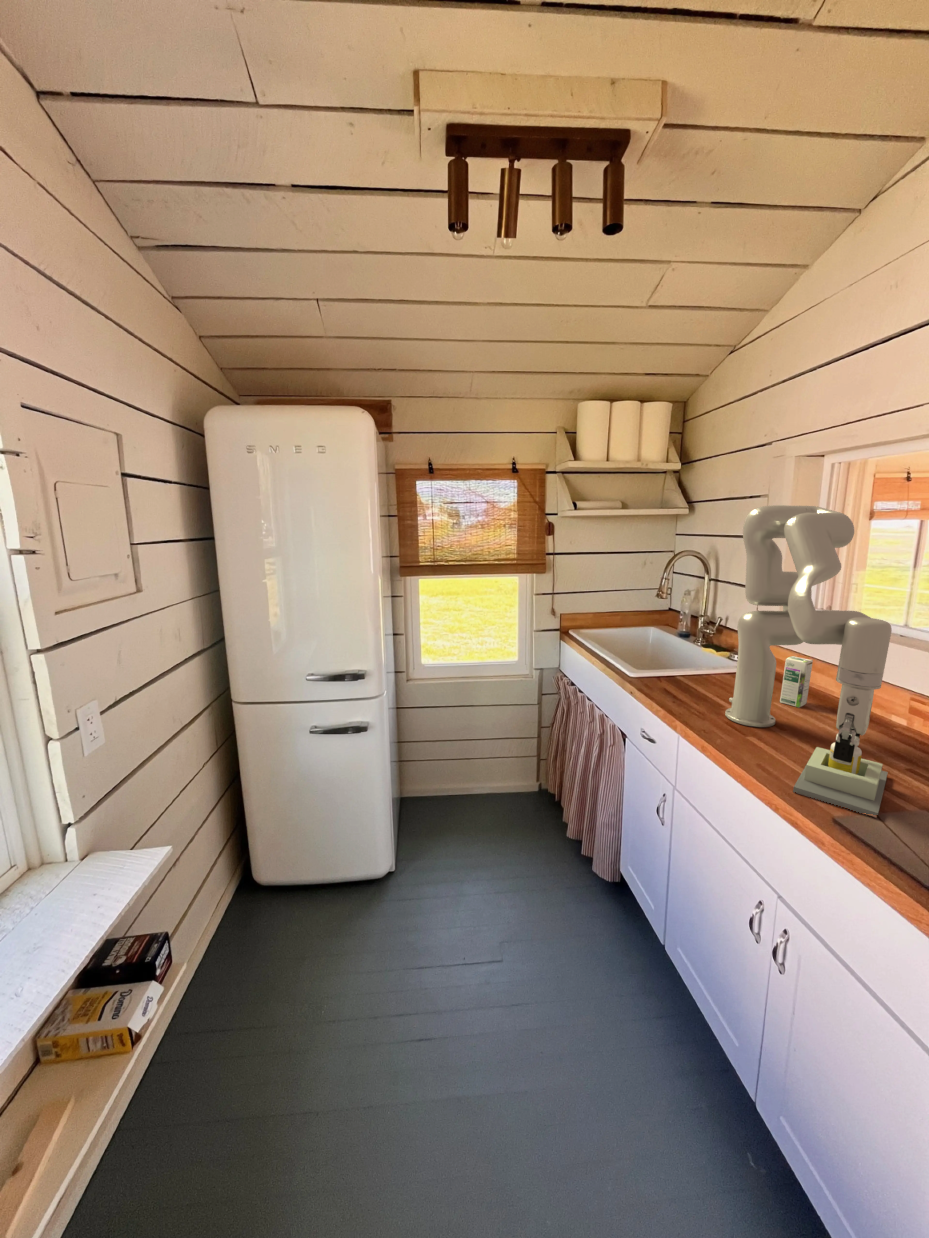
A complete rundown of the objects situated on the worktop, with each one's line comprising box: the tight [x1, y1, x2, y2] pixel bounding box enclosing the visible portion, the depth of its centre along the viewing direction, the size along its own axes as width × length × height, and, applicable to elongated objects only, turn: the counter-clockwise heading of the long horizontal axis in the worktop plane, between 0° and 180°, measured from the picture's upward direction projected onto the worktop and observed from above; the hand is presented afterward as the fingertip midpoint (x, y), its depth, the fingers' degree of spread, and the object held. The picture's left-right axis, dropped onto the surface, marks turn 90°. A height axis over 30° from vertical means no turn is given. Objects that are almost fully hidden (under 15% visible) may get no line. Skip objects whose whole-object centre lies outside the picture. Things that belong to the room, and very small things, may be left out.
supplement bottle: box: [828, 733, 863, 775], centre depth 110 cm, size 5×5×10 cm
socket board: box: [792, 746, 889, 816], centre depth 110 cm, size 22×14×5 cm, turn 137°
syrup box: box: [779, 655, 814, 709], centre depth 157 cm, size 6×6×14 cm
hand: (845, 752), depth 109 cm, fingers open, 9 cm apart
